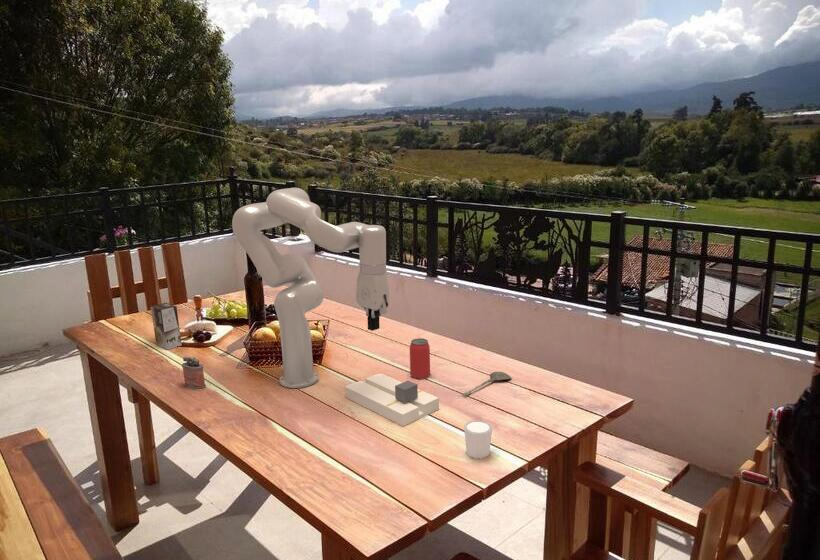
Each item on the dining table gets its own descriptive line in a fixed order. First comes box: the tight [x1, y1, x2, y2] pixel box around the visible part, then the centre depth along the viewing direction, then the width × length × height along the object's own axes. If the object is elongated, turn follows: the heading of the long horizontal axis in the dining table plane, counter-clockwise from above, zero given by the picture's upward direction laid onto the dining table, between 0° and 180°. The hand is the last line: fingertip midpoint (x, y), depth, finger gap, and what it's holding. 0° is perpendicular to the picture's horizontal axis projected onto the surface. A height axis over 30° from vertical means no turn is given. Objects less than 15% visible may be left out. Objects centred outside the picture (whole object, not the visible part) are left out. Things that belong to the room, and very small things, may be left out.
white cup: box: [463, 420, 493, 459], centre depth 139 cm, size 7×7×7 cm
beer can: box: [409, 337, 431, 380], centre depth 185 cm, size 7×7×12 cm
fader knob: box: [395, 380, 419, 403], centre depth 161 cm, size 4×5×6 cm
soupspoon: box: [461, 371, 512, 398], centre depth 177 cm, size 22×3×7 cm
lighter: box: [181, 356, 207, 390], centre depth 181 cm, size 8×3×10 cm, turn 65°
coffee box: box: [150, 302, 183, 351], centre depth 219 cm, size 9×6×16 cm
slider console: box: [344, 372, 440, 427], centre depth 167 cm, size 26×14×4 cm, turn 43°
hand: (373, 329), depth 166 cm, fingers closed
